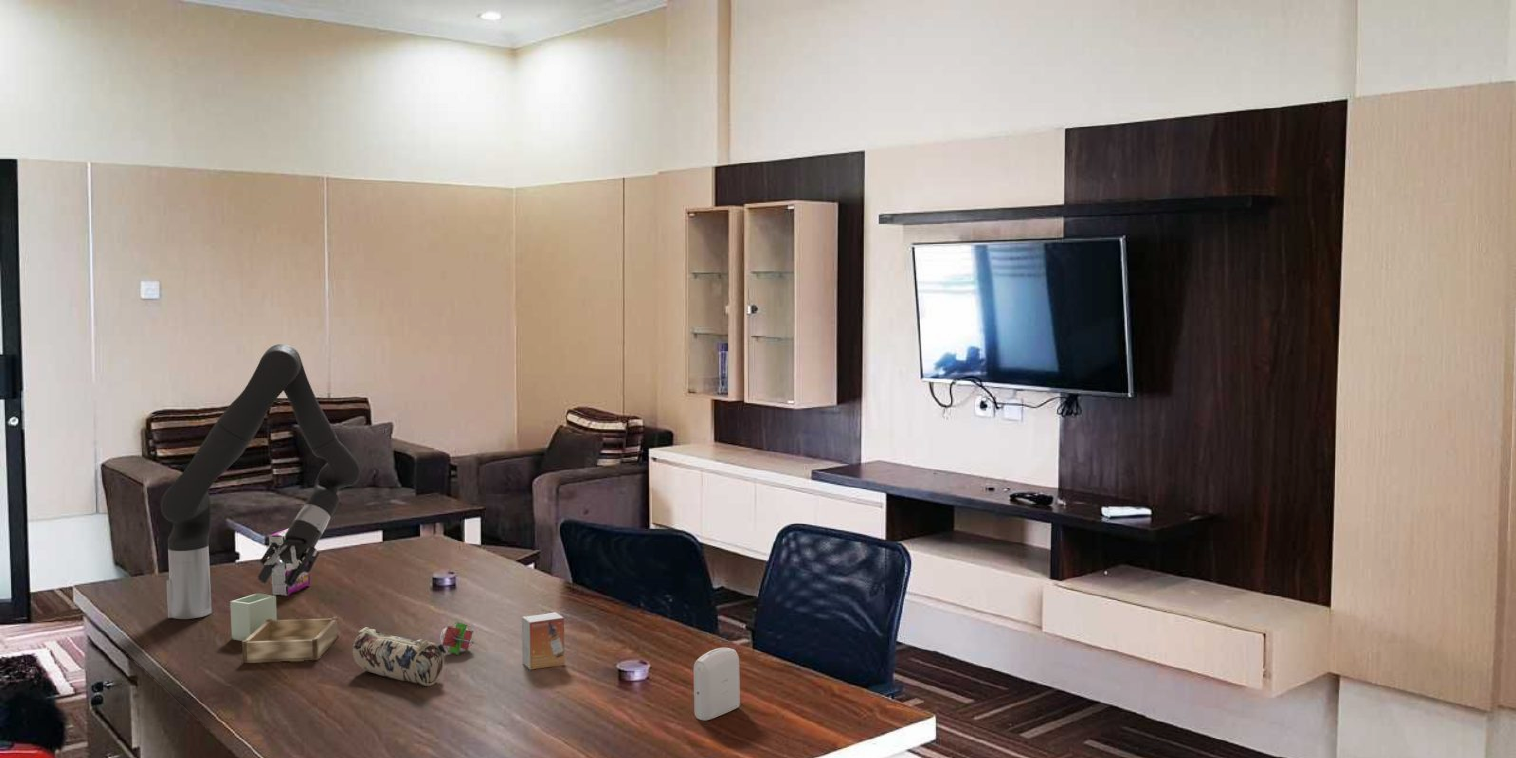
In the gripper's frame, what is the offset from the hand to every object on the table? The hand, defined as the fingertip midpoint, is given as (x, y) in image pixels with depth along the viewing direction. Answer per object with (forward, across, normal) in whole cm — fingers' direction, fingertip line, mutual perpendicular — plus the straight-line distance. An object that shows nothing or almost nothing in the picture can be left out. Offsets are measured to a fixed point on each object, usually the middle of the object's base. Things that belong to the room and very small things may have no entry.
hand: (274, 583), depth 298 cm
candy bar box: (-12, -25, +28) cm, 40 cm away
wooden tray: (+16, +16, 0) cm, 23 cm away
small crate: (+12, 0, +3) cm, 13 cm away
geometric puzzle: (+6, +52, +10) cm, 54 cm away
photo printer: (+14, +123, +2) cm, 124 cm away
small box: (+6, +75, +10) cm, 76 cm away
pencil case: (+20, +52, -3) cm, 55 cm away
